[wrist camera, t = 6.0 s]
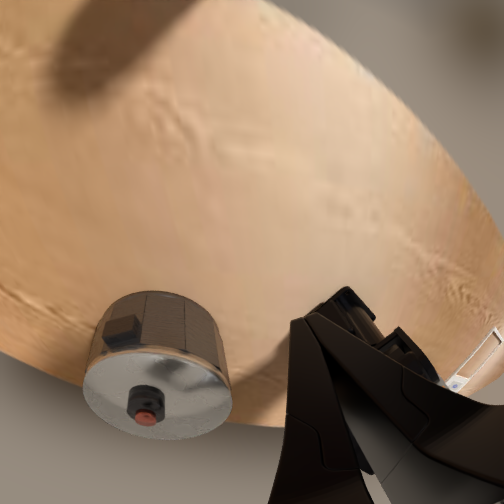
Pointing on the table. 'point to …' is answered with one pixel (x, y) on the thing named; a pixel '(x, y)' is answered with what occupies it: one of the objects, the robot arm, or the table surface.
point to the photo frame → (458, 381)
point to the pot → (160, 327)
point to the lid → (157, 392)
